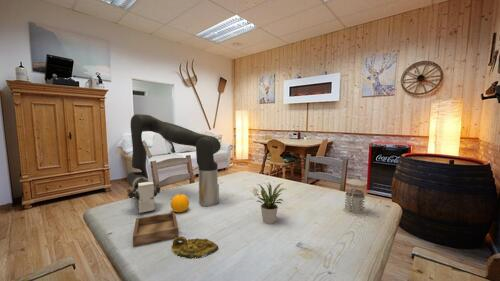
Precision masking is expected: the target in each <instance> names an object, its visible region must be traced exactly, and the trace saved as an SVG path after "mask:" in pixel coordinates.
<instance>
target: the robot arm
mask: <svg viewBox="0 0 500 281" xmlns="http://www.w3.org/2000/svg"><path fill="white" fill-rule="evenodd" d="M143 132H152V133H155V134H159V135H160V136H161V137H162V138H163V139H164V140H166V141H168V142H170V143H173V144H177V145H183V146H189V147H190V146H191V147H194V148H195V157H196V165H197V166H198V167H197V168H198V204H199V205H200V206H204V207H212V206H214V205H217V204H220V185H219V182H218V179H219V178H218V169H219V167H218V163H217V162H215V159H214V158H215V157H214V155H215V154H217V153H218V152H219V151H220V150H221V142H220V140H219V139H218V138H216V137H215V136H212V135H207V134H202V133H199V132H196V131H193V130H191V129H188V128H186V127H183V126H182V125H181V126H180V125H177V124H175V123H170V122H168V121H164V120H160V119H158V118H156V117H154V116H152V115H150V114H143V113H140V114H139V113H136V114H134V115H132V116H131V117H130V134H131V136H130V137H131V144H132V156H131V167H132V168H133V169H135V170H140V171H131V172H130V173H128V174H127V175H126V181H127V184H128V185H129V186H131V187H132V189H129V188H128V189H127V190H126V193H127V194H126V195H127V197H129V198H130V199H132V198H135V200H137V201H138V200H139V193H138V183H143V182H150V181H149V175H148V172H147V155H148V154H147V150H146V147H145V144H144V143H143V139H142V138H143V137H142V135H143ZM160 188H161V187H160V184H155V185H154V198H156V197H157V196H158V194H160V193H161V190H160Z"/></svg>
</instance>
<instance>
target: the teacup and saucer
mask: <svg viewBox="0 0 500 281" xmlns="http://www.w3.org/2000/svg"><path fill="white" fill-rule="evenodd" d="M256 189H257V190H256ZM251 192H253V193H252V195H251V197H253V198H255V197H254V196H260V195H261V191H260V192H259V188H258V186H255V187H252V190H250V193H251ZM258 192H259V193H258ZM253 194H254V195H253Z"/></svg>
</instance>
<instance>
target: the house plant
mask: <svg viewBox="0 0 500 281" xmlns="http://www.w3.org/2000/svg"><path fill="white" fill-rule="evenodd" d="M264 184H265V185H266V186H267V190H268V193H267V191H266V189H265V188H264V187H263V186H262V185H261V184H259V183H258V186H259V187H260V190H258V192H261V195H262V196H260V197H257V196H258V195H255V196H256V197H255V198H258V199H260V200H256V202H257V203H261V205H260V210H261V217H262V222H263V223H265V224H268V225H269V224H274V223H275V222H276V219H277V214H278V210H279V209H278V207H279V205H278V204H281V205H283V204H282V202H284V200H283V199H282V198H279V199H278V197H279V196H280V195H282V193H283V191H284V190H286V188H284V187H281V188H280V189H279V187H280V186H281V185H282V184H284V183H283V182H282V183H279V184H277V186H276V187H275V188H274V189H273V188H272V184H271V182H269V181H268V182H267V183H266V182H264ZM256 190H257V189H256ZM272 190H273V191H272ZM281 192H282V193H281ZM281 201H282V202H281Z"/></svg>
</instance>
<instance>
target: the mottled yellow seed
mask: <svg viewBox="0 0 500 281" xmlns="http://www.w3.org/2000/svg"><path fill="white" fill-rule="evenodd" d="M218 250H219V244H216V243H215V242H213V241H212V240H210V239H207V238H194V239H193V238H191V239H190V238H188V239H187V238H186V237H185V236H178V237H175V238H174V239H172V245H171V252H172V253H174V254H173V255H175V256H176V255H177V256H176V257H178V256H180V257H179V258H181V257H186V258H185V259H192V258H194V259H198V258H197V257H201V258H203V257H202V256H205V255H207V256H209V255H211V254H210V253H212V254H213V253H215V252H216V251H218ZM208 254H209V255H208ZM195 257H196V258H195ZM205 257H206V256H205Z"/></svg>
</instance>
